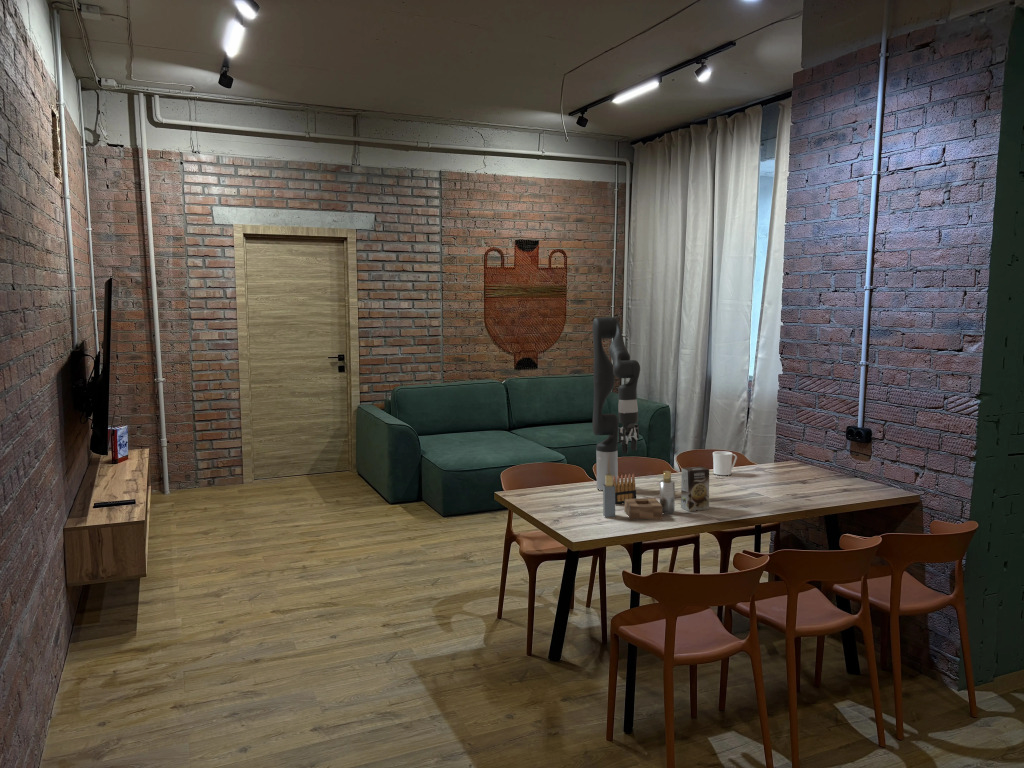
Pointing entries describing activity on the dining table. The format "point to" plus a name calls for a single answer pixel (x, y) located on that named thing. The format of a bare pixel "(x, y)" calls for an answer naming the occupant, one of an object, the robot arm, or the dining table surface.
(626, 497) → the ammunition clip
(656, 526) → the dining table surface
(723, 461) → the mug
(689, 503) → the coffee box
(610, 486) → the square bit
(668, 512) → the silver bottle
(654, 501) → the socket block
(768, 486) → the dining table surface
